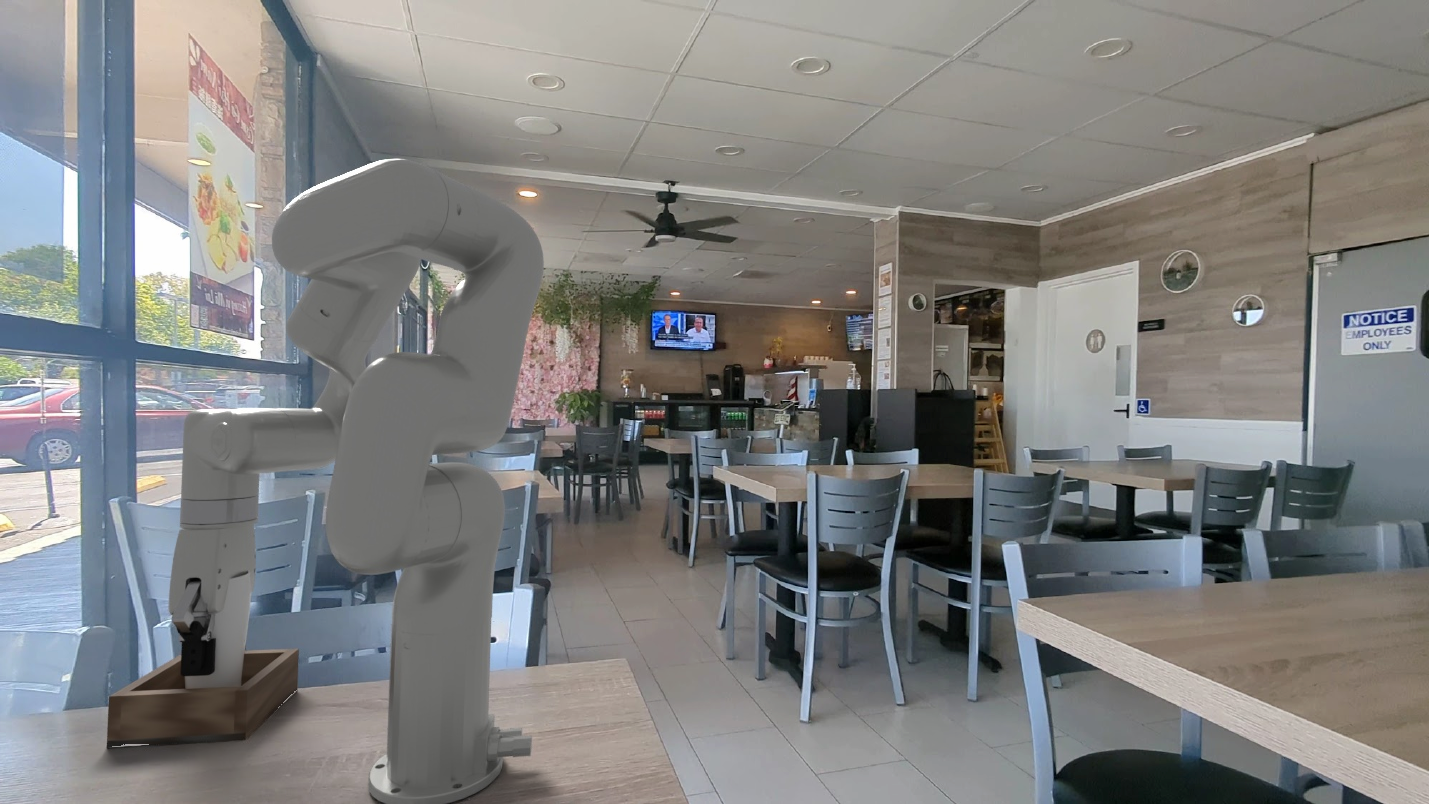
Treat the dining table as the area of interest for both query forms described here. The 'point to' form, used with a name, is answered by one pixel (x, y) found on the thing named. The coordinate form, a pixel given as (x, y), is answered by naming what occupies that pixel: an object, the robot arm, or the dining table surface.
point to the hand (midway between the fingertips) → (214, 662)
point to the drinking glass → (227, 636)
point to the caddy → (201, 703)
